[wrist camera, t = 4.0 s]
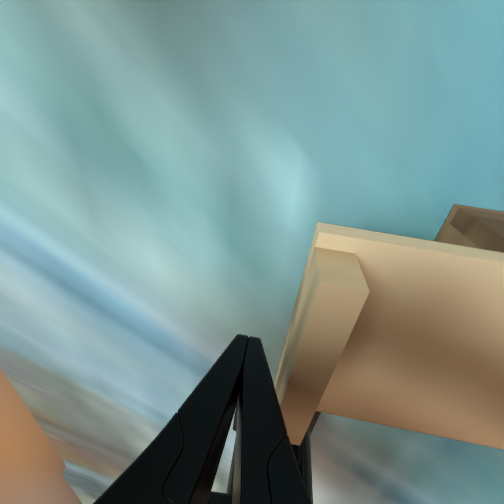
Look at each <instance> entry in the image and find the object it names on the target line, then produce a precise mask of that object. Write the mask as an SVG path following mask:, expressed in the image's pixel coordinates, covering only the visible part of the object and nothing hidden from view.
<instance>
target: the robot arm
mask: <svg viewBox="0 0 504 504" xmlns="http://www.w3.org/2000/svg"><path fill="white" fill-rule="evenodd" d="M248 338H249V339H248ZM235 408H236V411H235ZM234 412H235V417H234V423H233V430H234V431H236V439H235V445H234V451H233V457H232V463H231V468H230V474H229V480H228V486H227V492H226V494H225V493H218V492H211V489H212V486H213V482H214V479H215V476H216V472H217V469H218V466H219V462H220V459H221V455H222V452H223V449H224V445H225V442H226V439H227V435H228V432H229V429H230V425H231V422H232V418H233V415H234ZM320 413H321V412H319V411H315V414H314V416H313V418H312V420H311V422H310V425H309V427H308V429H307V431H306V433H305V436H304V438H303V440H302V442H301V444H300V446H299V445H294V444H291V442H290V439H289V436H288V435H287V434H288V433H287V429H286V426H285V422H284V419H283V415H282V412H281V408H280V405H279V401H278V398H277V394H276V391H275V387H274V384H273V380H272V377H271V374H270V370H269V367H268V363H267V360H266V356H265V353H264V349H263V346H262V342H261V339H260V338H257V337H252V336H250V337H248V336H247V335H241V334H238V335H236V337H235V338H234V339H233V340H232V342H231V343H230V344H229V346H228V347H227V348H226V349H225V351H224V352H223V353H222V355H221V356H220V357H219V358H218V360H217V361H216V362H215V364H214V365H213V366H212V367H211V369H210V370H209V371H208V372H207V374H206V375H205V376H204V378H203V379H202V380H201V381H200V383H199V384H198V385H197V387H196V388H195V389H194V390H193V392H192V393H191V394H190V395H189V397H188V398H187V399H186V401H185V402H184V403H183V404H182V406H181V407H180V408H179V410H178V413H175V414H174V416H173V417H172V418H171V420H170V421H169V422H168V423H167V425H166V426H165V427H164V428H163V429H162V431H161V432H160V433H159V434H158V435H157V437H156V438H155V439H154V440H153V441H152V442H151V443H150V445H149V446H148V447H147V448H146V449H145V450H144V451H143V452H142V453H141V454H140V455H139V456H138V458H137V459H136V460H135V461H134V462H133V463H132V464H131V465H130V466H129V467H128V468H127V469H126V470H125V471H124V472H123V473H122V474H121V475H120V476H119V477H118V478H117V479H116V480H115V481H114V482H113V483H112V485H111V486H110V487H109V488H108V489H107V490H106V491H105V492H104V493H103V494H102V495H101V496H100V497H99V498H98V499H97V500H96V501H95V502H94V503H93V504H313V493H312V471H311V449H310V434H311V432H312V429H313V427H314V425H315V423H316V421H317V419H318V417H319V415H320Z"/></svg>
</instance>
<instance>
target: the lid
mask: <svg viewBox="0 0 504 504" xmlns="http://www.w3.org/2000/svg"><path fill="white" fill-rule="evenodd" d="M274 387H275V391H276V394H277V398H278V401H279V405H280V408H281V412H282V415H283V419H284V422H285V426H286V429H287V433H288V434H287V435H288V436H289V439H290V442H291V444H294V445H299V446H300V444H301V442H302V440H303V438H304V436H305V433H306V431H307V429H308V427H309V425H310V422H311V420H312V418H313V416H314V414H315V411H319V412H323V413H328V414H333V415H338V416H343V417H348V418H353V419H358V420H362V421H367V422H372V423H377V424H382V425H387V426H392V427H397V428H401V429H406V430H411V431H416V432H421V433H426V434H431V435H436V436H440V437H445V438H450V439H455V440H460V441H465V442H470V443H475V444H480V445H484V446H489V447H494V448H499V449H504V253H502V252H496V251H490V250H484V249H478V248H472V247H465V246H459V245H453V244H447V243H441V242H435V241H429V240H423V239H417V238H411V237H405V236H398V235H392V234H386V233H380V232H374V231H368V230H362V229H356V228H350V227H344V226H338V225H331V224H325V223H319V222H317V226H316V230H315V233H314V237H313V241H312V244H311V248H310V252H309V255H308V259H307V263H306V266H305V270H304V274H303V278H302V281H301V285H300V289H299V292H298V296H297V300H296V303H295V307H294V311H293V314H292V318H291V322H290V326H289V329H288V333H287V337H286V340H285V344H284V348H283V351H282V355H281V359H280V362H279V366H278V370H277V374H276V377H275V381H274Z"/></svg>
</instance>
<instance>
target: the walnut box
mask: <svg viewBox="0 0 504 504" xmlns="http://www.w3.org/2000/svg"><path fill="white" fill-rule="evenodd" d="M434 241H435V242H441V243H447V244H453V245H459V246H465V247H472V248H478V249H484V250H490V251H496V252H502V253H504V212H502V211H496V210H489V209H483V208H476V207H470V206H464V205H457V204H454V205H453V207H452V209H451V211H450V213H449V215H448V216H447V218H446V220H445V222H444V224H443V226H442V227H441V229H440V231H439V233H438V235H437V237H436V238H435V240H434Z"/></svg>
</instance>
